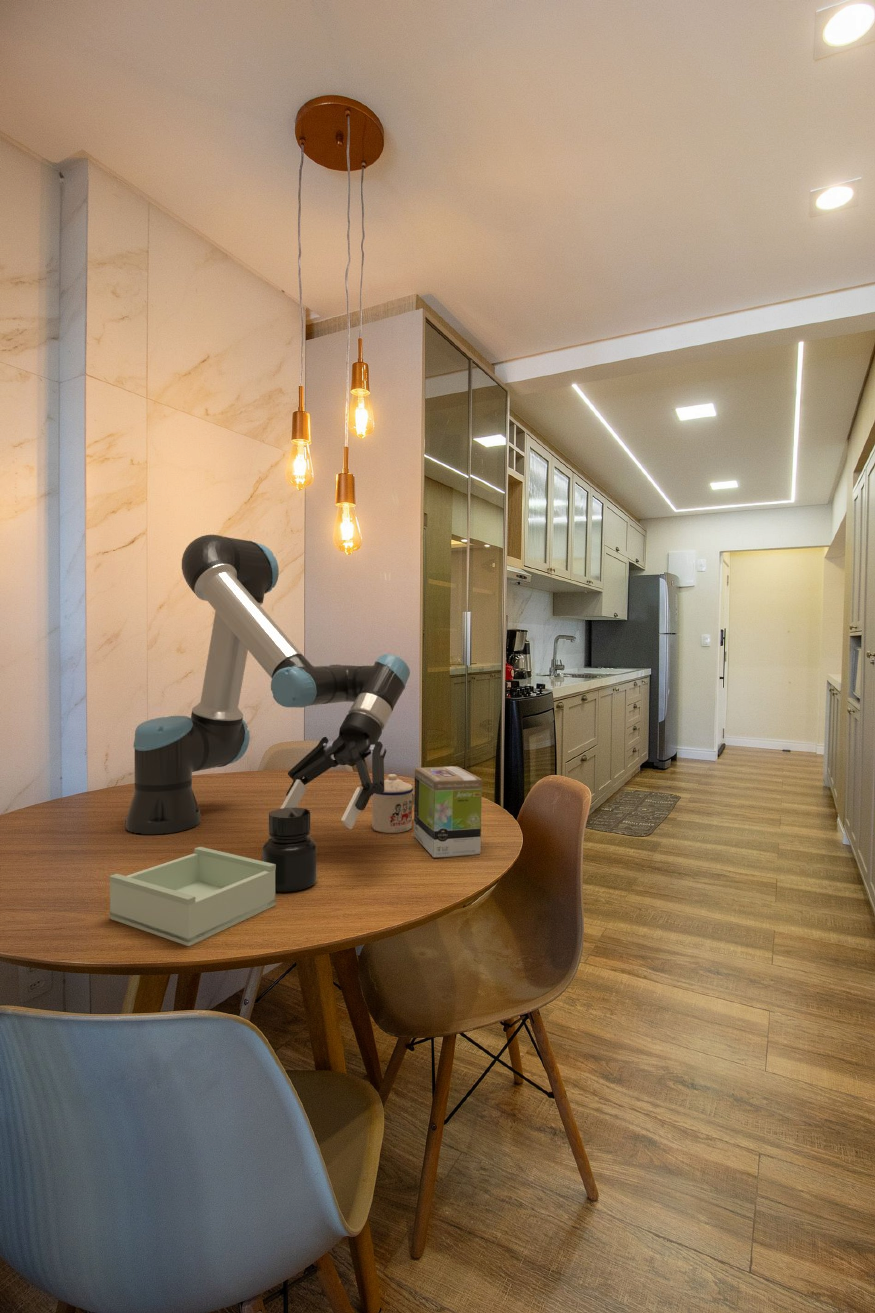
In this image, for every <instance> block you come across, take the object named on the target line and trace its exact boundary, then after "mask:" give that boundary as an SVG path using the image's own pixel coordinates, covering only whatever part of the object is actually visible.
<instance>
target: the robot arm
mask: <svg viewBox="0 0 875 1313" xmlns="http://www.w3.org/2000/svg"><path fill="white" fill-rule="evenodd" d="M181 558H182V559H181V571H182V575H183V578H184V580H185V582H186V585H188V586H189V589H190V590H191V591H192V592H193V593H194V595H195V596H196V597H197V598H198V599H199V600H202V601H204V602H205V601H206V602H208V604H209V605H210V606H211V607H212V609H214V611H215V612H214V618H213V623H212V630H211V636H210V642H209V649H208V654H207V660H206V666H205V667H206V668H205V672H204V677H203V684H202V691H201V697H200V702H199V703H197V704H196V705H194V706H193V707H192V708H191V714H190V716H186V715H171V716H169V715H168V716H162V717H161V716H160V717H156V718H152V719H149V720H148V719H147V720H145V721H143V722H142V723H140V724H138V726H137V727H136V728H135V730H134V742H133V748H134V794H133V797H132V799H131V802H130V805H129V809H128V812H127V815H126V817H125V830H126V829H127V830H128V831H127V830H126V831H127V832H129V831H130V832H129V833H132V832H134V833H133V834H136V833H141V834H140V835H162V834H163V835H165V834H172V833H179V832H183V831H187V830H189V829H192V828H194V827H197V826H198V825H199V824H201V810H200V808H199V806H198V803H197V802H198V801H197V798H196V796H195V793H194V790H193V773H195V772H200V771H203V770H209V769H214V768H223V767H226V766H228V765H230V764H234V763H236V762H238V761H239V760H241V758H243V757H244V755H245V754H246V752H247V750H248V747H249V744H250V736H251V735H250V730H248V724H247V722H246V721H245V720H244V713H243V712H242V710H241V709H240V708H239V704H240V698H241V693H242V688H243V683H244V682H243V681H244V675H245V674H244V673H245V668H246V663H247V659H248V658H247V657H248V652H249V653H250V654H251V655H252V657H253V658H254V659H255V660H256V662H257V663H258V664H259V665H260V666H261V667H262V669H263V670H264V671H265V673H266V674H267V675H268V676H269V677H270V679H271V682H270V691H271V692H272V698H273V699H274V701H275V702H276V703H277V704H278V705H279V706H281V707H284V708H297V709H298V708H299V709H300V708H307V707H310V706H318V705H326V704H336V703H345V702H346V703H347V702H348V703H353V704H351V707H350V709H349V710H348V714H346V716H345V718H344V720H343V722H342V724H341V725H340V727H339V729H338V730H339V732H338V736H337V738H336V739H335V740H329V738H328V737H327V736H324V737H322V738H321V739H320V741H319V742H318V744H317V745H316V746H315V747H314V748H313V749H311V751H310V752H308V754H306V755H305V756H304V757H302V759H300V761H298V763H296V764H295V765H294V766H293V767H292V768H291V769H290V770H289V771H288V772H287V776H289V778H290V779H291V780H292V782H291V784H290V786H289V788H288V790H287V791H286V794H285V796H286V798H285V799H284V802H283V803H282V804H281V806H280V808H279V809H282V808H298V805H299V803H300V802H301V800H302V798H303V796H304V794H305V793H306V791H307V789H308V788H307V786H306V785H307V784H309V783H310V782H312V781H313V780H315V779H317V778H318V777H319V776H321V775H322V774H323V773H325V772H326V771H328V770H329V769H331V768H336V767H338V766H349V767H354V766H355V768H356V770H357V773H358V776H359V780H360V783H361V784H360V785H361V787H360V786H359V787H356V788H355V791H354V793H353V795H352V797H351V799H350V801H349V803H348V805H347V807H346V809H345V810H344V812H343V813H344V814H343V815H342V817H341V819H340V821H341V822H342V823H343V824H344V825H345V827H346V828H347V829H349V830H352V829H353V827H354V825H355V824H356V822H357V819H358V817H359V815H360V813H361V811H364V810H365V809H366V807H367V805H368V803H369V801H370V799H371V797H372V795H373V794H374V793H379V794H382V793H383V792H384V780H385V765H384V764H385V757H386V754H387V749H386V748H385V746H384V744H383V743H382V742H381V741H380V738H381V736H382V733H383V730H384V729H385V727H386V725H387V723H388V722H389V719H390V717H391V715H392V713H393V711H394V708H395V707H396V704H397V703H398V700H399V699H400V698H401V696H402V694H403V692H404V690H405V689H406V685H407V683H408V680H409V677H410V675H411V670H410V666H409V665H408V663H406V661H405V660H404V659H402V658H401V657H400V656H397V655H395V654H391V653H386V654H383V655H380V656H379V657H378V658H377V659H376V661H375V662H374V664H373V665H350V664H349V665H348V664H347V665H346V664H345V665H343V664H327V665H323V666H322V665H319V666H314V665H313V664H311V663H310V661H309V660H308V659H307V658H306V657H305V656H304V655H303V654H302V652H301V651H300V650H299V649H298V647H297V646H296V645H295V644H294V643H293V642H292V641H291V640H290V638H288V636H287V635H286V634H285V633H284V631H283V630H282V629H281V627H279V625H278V624H276V622H275V621H274V620H273V618H272V617H271V616H270V615H269V614H268V613H267V612H266V611H265V609H264V608H263V607H262V606H261V605H263V604H264V598H265V595H266V594H268V593H269V592H271V591H272V590H273V588H275V587H276V585H277V583H278V580H279V574H280V571H279V564H278V560H277V558H276V556H275V555H274V553H273V551H272V550H271V549H270V548H269V547H267V546H266V545H264V544H262V543H258V542H254V541H252V540H246V539H240V538H234V537H229V536H222V535H218V534H205V535H201V536H199V537H197V538H195V539H194V540H192V541H191V542H190V543H189V544H188V545H187V546H186V548H185V550H184V551H183V553H182V557H181ZM370 755H371V770H372V771H371V772H372V773H371V775H372V777H370V773H369V770H368V765H367V761H366V758H368V757H369V756H370ZM332 756H333V758H332ZM371 778H372V780H371ZM164 833H165V834H164Z"/></svg>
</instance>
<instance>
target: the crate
mask: <svg viewBox="0 0 875 1313" xmlns="http://www.w3.org/2000/svg"><path fill="white" fill-rule="evenodd" d="M193 850H194V851H193V853H191V854H189V855H185V856H182V857H179V858H176V859H173V860H171V861H170V860H169V861H167V862H165V863H161V864H158V865H155V866H152V867H149V868H146V869H143V870H140V871H137V872H133V873H131V874H127V875H123V874H120V873H114V874H112V875H109V876H108V877H109V878H108V880H109V918H110V919H109V920H112V921H115V922H119V923H121V924H124V925H127V926H129V927H133V928H135V929H139V930H141V931H143V932H147V933H150V934H151V935H155V936H158V937H162V938H164V939H167V940H169V941H172V942H175V943H178V944H181V945H183V946H186V947H191V946H193V945H196V944H197V943H199V942H201V941H203V940H205V939H208V938H210V937H213V936H215V935H216V934H218V933H220V932H222V931H224V930H226V929H228V928H230V927H233V926H235V925H237V924H239V923H241V922H243V921H245V920H247V919H250V918H252V917H254V916H255V915H258V914H260V913H263V912H264V911H266V910H269V909H271V908H272V907H275V906H276V892H275V870H276V864H272V863H268V862H263V861H262V860H259V859H254V858H250V857H246V856H242V855H237V854H232V853H229V852H225V851H219V850H216V849H212V848H207V847H204V846H197V847H195V848H194V849H193Z"/></svg>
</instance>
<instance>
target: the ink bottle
mask: <svg viewBox="0 0 875 1313" xmlns="http://www.w3.org/2000/svg"><path fill="white" fill-rule="evenodd" d="M310 833H311V810H310V809H307V808H303V807H296V808H282V809H280V808H277V809H274V810H271V811H270V812H269V813H268V836H269V838H268V840H267V841H266V842H265V843H264V844H263V846H262V850H261V854H262V855H261V861H263V862H268V863H272V864H276V870H275V893H291V892H298V891H302V890H305V889H309V888H310V887H312V886H314V885H315V884H316V882H317V879H318V878H317V875H318V874H317V872H318V871H317V866H318V865H317V864H318V863H317V861H318V860H317V858H318V857H317V856H318V855H317V851H318V850H317V847H318V846H317V843H316V842H315V841H316V840H314V839H312V837H311V836H310Z"/></svg>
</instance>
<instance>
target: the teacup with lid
mask: <svg viewBox="0 0 875 1313" xmlns="http://www.w3.org/2000/svg"><path fill="white" fill-rule="evenodd" d="M414 794H415V791H414V787H413V785H412V784H411V783H407V782H404V781H403V780H401V779H399V778H398V776H397V774H394V773H393V774H392V773H390V774H388V775H387V778H386V779H385V778H384V792H383V793H382V794H379V793H374V794H373V795H372V796H371V797H372V798H371V799H372V801H371V804H372V808H371V809H372V812H371V813H372V814H371V815H372V818H371V820H372V821H371V822H372V823H371V824H372V825H371V826H372V830H374V831H376V832H378V833H385V834H397V833H398V834H399V833H404V832H407V831H409V830H410V829H412V828H413V809H414Z"/></svg>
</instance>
